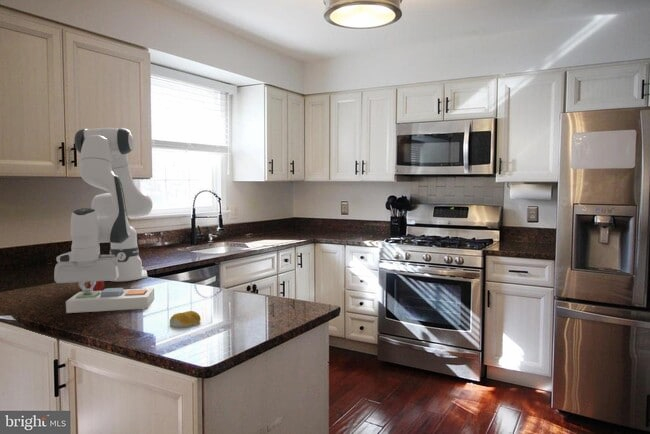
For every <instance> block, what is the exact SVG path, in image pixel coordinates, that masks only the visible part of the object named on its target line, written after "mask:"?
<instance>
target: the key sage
mask: <svg viewBox="0 0 650 434" xmlns="http://www.w3.org/2000/svg"><path fill="white" fill-rule="evenodd" d="M99 294H100V292H93V294H85V295H83V293H80V294H79V295H78V296H76V298H94V297H97V296H98V295H99Z"/></svg>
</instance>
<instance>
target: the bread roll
mask: <svg viewBox="0 0 650 434" xmlns="http://www.w3.org/2000/svg"><path fill="white" fill-rule="evenodd" d="M201 320H202V319H201V315H200V314H199V313H198V312H197V311H194V310H189V311H188V310H187V311H185V312H177V313H175V314H173V315H172V316H171V317H170V318H169V325H170V327H173V328H176V329H177V328H178V329H181V328H189V327H192V326H196V325H195V324H197V325H199V324H200V323H201ZM198 323H199V324H198Z"/></svg>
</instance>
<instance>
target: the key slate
mask: <svg viewBox="0 0 650 434" xmlns="http://www.w3.org/2000/svg"><path fill="white" fill-rule="evenodd" d="M123 290H124V287H110V288H109V287H107V288H105V287H104V289H103V291H102V292H101V297H113V296H121V295H122V294H123Z"/></svg>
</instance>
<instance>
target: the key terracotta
mask: <svg viewBox="0 0 650 434" xmlns="http://www.w3.org/2000/svg"><path fill="white" fill-rule="evenodd" d="M143 289H144V290H129V291H128V292H127V293H126V294H125V296H132V295H145V293H146V292H147V290H146V289H145V288H143Z"/></svg>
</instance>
